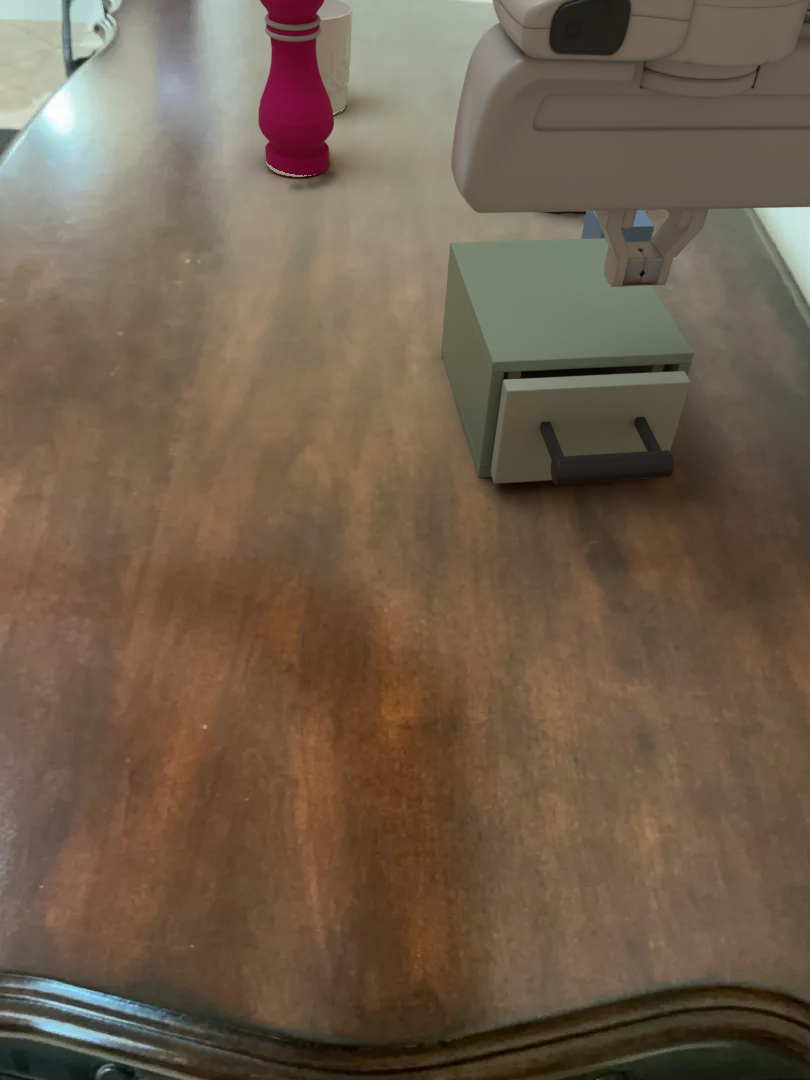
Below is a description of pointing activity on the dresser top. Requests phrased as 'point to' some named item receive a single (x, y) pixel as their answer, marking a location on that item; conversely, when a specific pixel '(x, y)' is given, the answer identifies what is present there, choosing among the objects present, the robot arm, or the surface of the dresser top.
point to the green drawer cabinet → (542, 323)
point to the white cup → (335, 50)
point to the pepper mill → (295, 91)
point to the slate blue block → (637, 233)
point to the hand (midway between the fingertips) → (633, 281)
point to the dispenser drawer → (588, 424)
